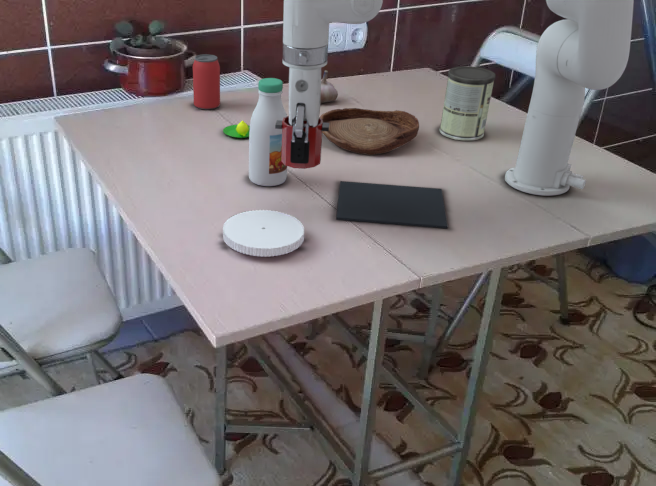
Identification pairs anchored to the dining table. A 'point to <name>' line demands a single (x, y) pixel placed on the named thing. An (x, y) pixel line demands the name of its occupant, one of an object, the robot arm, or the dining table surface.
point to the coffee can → (466, 102)
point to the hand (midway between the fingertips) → (301, 153)
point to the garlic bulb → (327, 90)
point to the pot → (313, 137)
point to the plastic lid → (263, 233)
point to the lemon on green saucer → (238, 130)
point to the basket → (370, 129)
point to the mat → (391, 204)
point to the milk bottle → (267, 136)
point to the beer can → (206, 81)
